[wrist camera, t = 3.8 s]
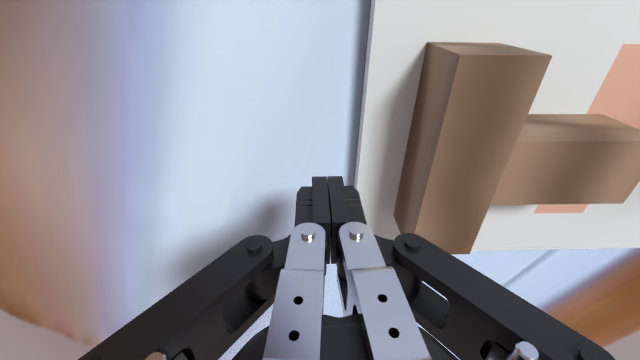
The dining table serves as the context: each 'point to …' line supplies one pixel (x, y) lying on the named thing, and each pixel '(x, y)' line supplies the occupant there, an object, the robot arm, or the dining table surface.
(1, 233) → the dining table surface
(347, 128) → the dining table surface
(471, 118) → the tee block
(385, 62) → the board
